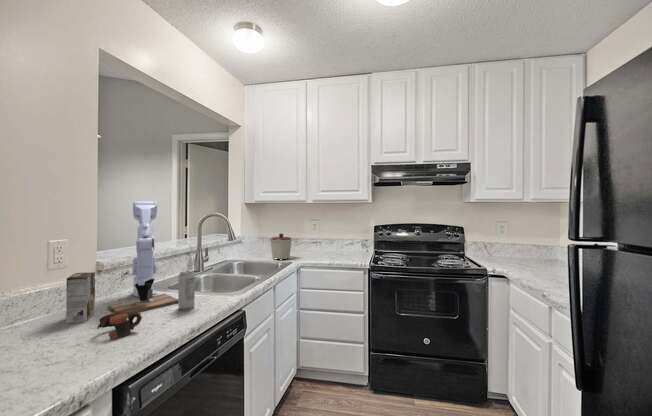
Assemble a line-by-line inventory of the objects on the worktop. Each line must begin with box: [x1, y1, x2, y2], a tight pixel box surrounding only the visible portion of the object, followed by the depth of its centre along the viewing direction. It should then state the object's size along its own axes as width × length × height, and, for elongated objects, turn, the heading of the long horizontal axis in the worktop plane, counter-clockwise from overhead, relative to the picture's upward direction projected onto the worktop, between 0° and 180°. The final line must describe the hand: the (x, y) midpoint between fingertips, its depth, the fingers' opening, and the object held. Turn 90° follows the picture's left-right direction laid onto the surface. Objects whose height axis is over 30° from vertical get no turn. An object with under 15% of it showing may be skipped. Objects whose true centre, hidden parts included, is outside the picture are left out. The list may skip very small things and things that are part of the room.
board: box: [107, 293, 178, 314], centre depth 127 cm, size 15×22×2 cm
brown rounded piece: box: [97, 311, 143, 341], centre depth 99 cm, size 12×10×8 cm
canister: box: [269, 233, 293, 259], centre depth 245 cm, size 18×18×21 cm
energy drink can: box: [177, 269, 196, 310], centre depth 124 cm, size 6×6×15 cm
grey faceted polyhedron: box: [136, 288, 154, 300], centre depth 127 cm, size 5×6×4 cm
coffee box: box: [65, 271, 96, 325], centre depth 111 cm, size 9×6×16 cm
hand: (144, 298), depth 127 cm, fingers closed on grey faceted polyhedron, 5 cm apart
